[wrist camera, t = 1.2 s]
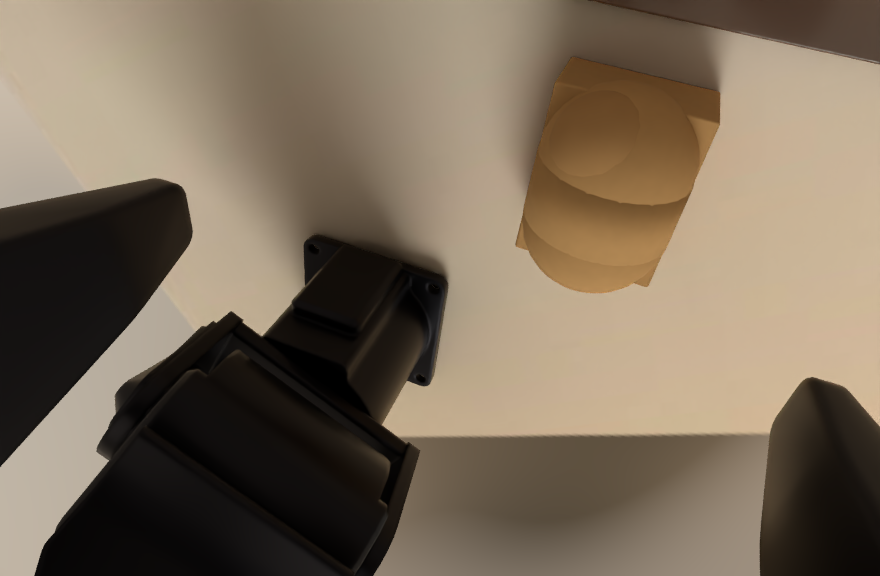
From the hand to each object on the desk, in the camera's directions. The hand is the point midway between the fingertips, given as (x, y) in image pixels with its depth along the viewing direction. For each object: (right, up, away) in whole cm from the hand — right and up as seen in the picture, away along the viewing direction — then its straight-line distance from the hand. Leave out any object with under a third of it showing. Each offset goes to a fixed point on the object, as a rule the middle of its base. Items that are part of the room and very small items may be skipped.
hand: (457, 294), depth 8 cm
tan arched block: (+5, +4, +11) cm, 13 cm away
